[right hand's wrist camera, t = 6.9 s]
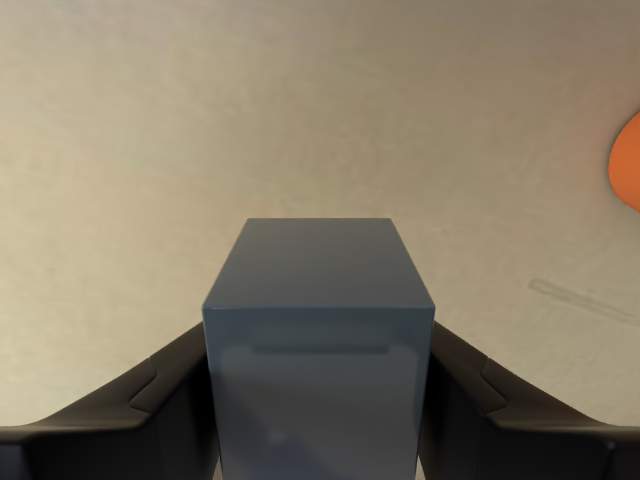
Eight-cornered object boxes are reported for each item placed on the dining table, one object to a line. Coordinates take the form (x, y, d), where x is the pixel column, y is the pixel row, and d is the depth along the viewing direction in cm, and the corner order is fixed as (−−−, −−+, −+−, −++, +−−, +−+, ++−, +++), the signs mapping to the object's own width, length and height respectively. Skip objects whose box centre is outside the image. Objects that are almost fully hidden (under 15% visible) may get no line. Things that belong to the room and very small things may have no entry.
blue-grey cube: (391, 217, 11) (436, 306, 7) (381, 363, 13) (412, 507, 9) (246, 217, 11) (199, 305, 7) (257, 363, 13) (225, 507, 9)
